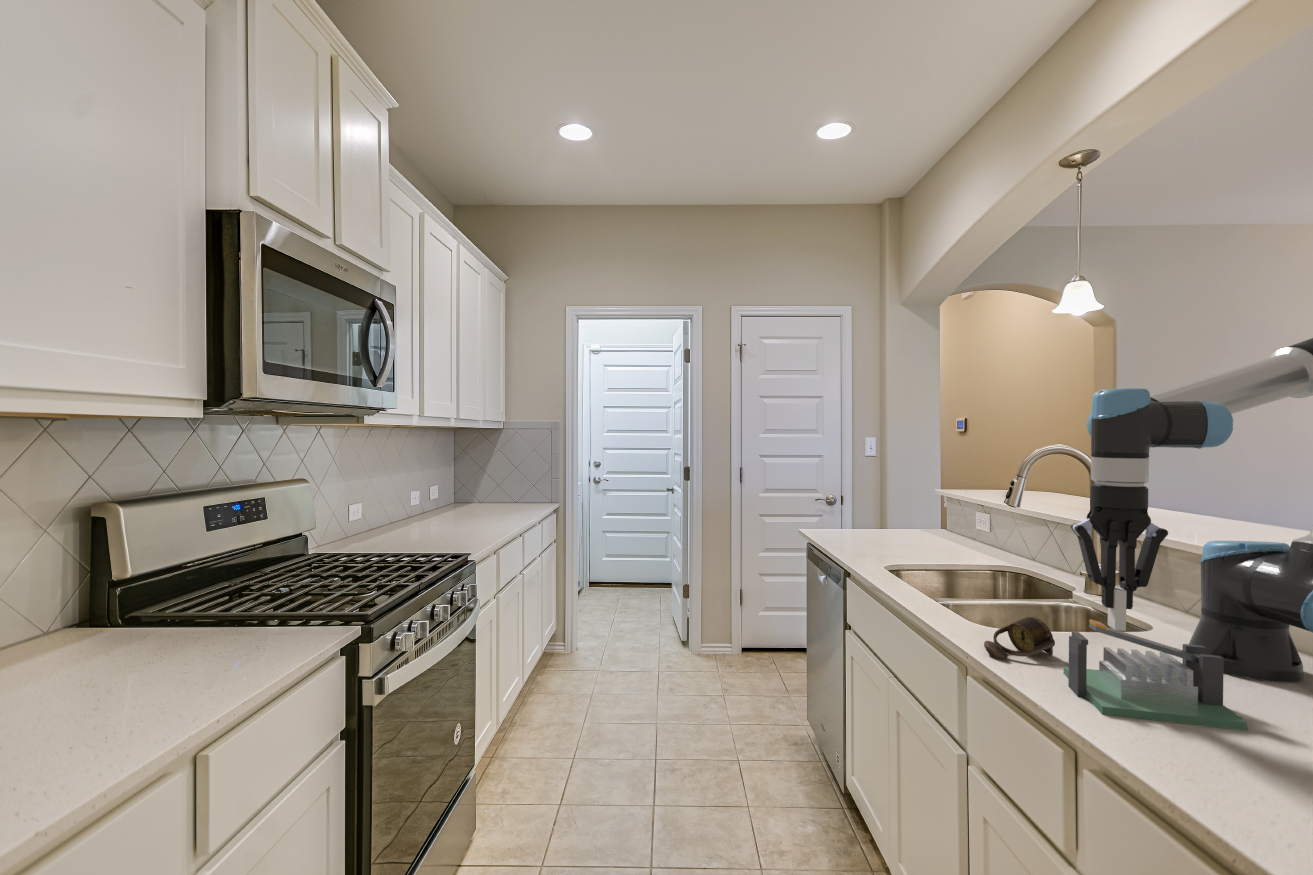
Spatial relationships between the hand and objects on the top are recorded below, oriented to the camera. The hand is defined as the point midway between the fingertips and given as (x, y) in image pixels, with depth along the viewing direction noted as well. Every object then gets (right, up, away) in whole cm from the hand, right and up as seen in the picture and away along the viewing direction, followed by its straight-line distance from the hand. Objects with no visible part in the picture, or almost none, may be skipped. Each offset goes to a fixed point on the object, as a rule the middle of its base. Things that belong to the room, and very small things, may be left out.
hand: (1116, 627), depth 98 cm
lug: (-5, -11, +2) cm, 12 cm away
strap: (+4, -3, -1) cm, 5 cm away
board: (+4, -11, -1) cm, 12 cm away
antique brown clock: (-5, -11, +19) cm, 23 cm away
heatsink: (+4, -10, -1) cm, 11 cm away
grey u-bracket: (+11, -10, -3) cm, 15 cm away
